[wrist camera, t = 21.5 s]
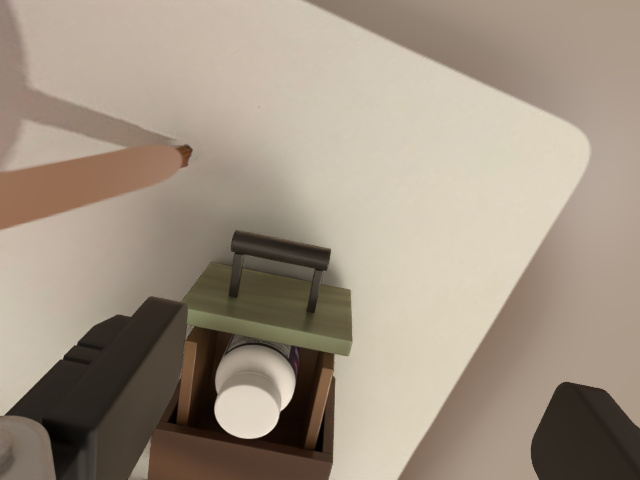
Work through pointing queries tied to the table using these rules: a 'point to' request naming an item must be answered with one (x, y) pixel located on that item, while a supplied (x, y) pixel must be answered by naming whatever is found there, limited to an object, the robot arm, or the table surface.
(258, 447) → the cabinet
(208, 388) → the drawer
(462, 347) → the table surface
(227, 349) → the pill bottle
